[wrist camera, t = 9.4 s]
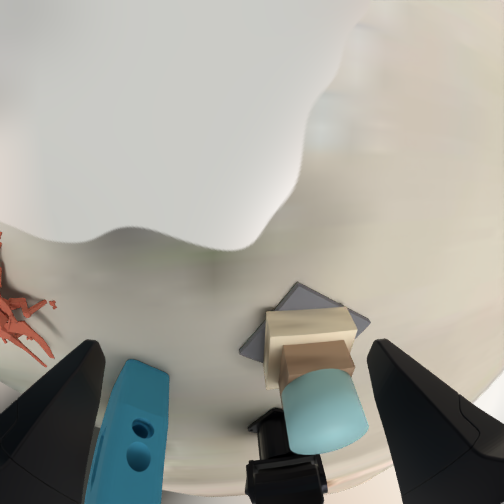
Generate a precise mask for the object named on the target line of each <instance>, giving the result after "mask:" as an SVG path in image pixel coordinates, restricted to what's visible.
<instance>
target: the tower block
mask: <svg viewBox="0 0 504 504" xmlns="http://www.w3.org/2000/svg"><path fill="white" fill-rule="evenodd" d="M321 369H339V370H343V371H345V372H347V373H348V374H349V375H350V376H351V377H352V374H353V372H354V369H355V365H354V363H353V360H352V358H351V356H350V353H349V351H348V348H347V346H346V343H345V341H344V340H337V341H328V342H317V343H306V344H293V345H283V350H282V358H281V366H280V373H279V381H278V384H279V390H280V396H281V403H282V392H283V390H284V388H285V387H286V386H287V385H288V384H289V383H290V382H292V381H293V380H294V379H296V378H298V377H300V376H302V375H304V374H306V373H309V372H312V371H316V370H321ZM282 409H283V403H282ZM283 410H284V409H283Z"/></svg>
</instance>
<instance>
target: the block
mask: <svg viewBox="0 0 504 504" xmlns="http://www.w3.org/2000/svg"><path fill="white" fill-rule="evenodd" d="M168 408H169V375H168V374H167V373H165V372H163V371H161V370H158V369H156V368H153V367H151V366H149V365H146V364H144V363H142V362H140V361H137V360H134V359H130V360H127V361H126V363H125V365H124V367H123V369H122V371H121V373H120V375H119V377H118V379H117V381H116V383H115V385H114V387H113V389H112V392H111V395H110V398H109V402H108V405H107V408H106V412H105V415H104V418H103V422H102V425H101V429H100V432H99V436H98V440H97V444H96V448H95V452H94V457H93V461H92V466H91V471H90V476H89V481H88V486H87V491H86V497H85V503H84V504H161V495H162V481H163V470H164V459H165V449H166V440H167V431H168Z"/></svg>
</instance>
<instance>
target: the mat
mask: <svg viewBox="0 0 504 504" xmlns="http://www.w3.org/2000/svg"><path fill="white" fill-rule="evenodd" d="M335 307H345V306H343V305H341V304H339V303H337V302H335V301H333V300H331V299H329V298H327V297H326V296H324V295H322V294H320V293H318V292H316V291H314V290H312V289H310V288H308V287H306V286H305V285H303V284H301V283H299V282H297V283H296V284H295V286H294V287H293V288H292V289H291V290H290V292H289V293H288V294H287V295H286V296H285V298H284V299H283V300H282V301H281V302H280V304H279V305H278V306H277V307H276V308H275V310H274V311H289V310H306V309H321V308H335ZM347 309H348V311H349V313H350V315H351V317H352V319H353V321H354V323H355V325H356V327H357V329H358V330H357V333H356V336H355V339H356V338H357V337H358V336H359V335H360V334H361V333H362V332H363V331H364V330H365V329H366V328H367V327H368V325H369V324H370V323H371V322H370V320H369V319H368V318H366V317H364V316H362V315H360V314H358V313H356V312H354V311H352V310H350V309H349V308H347ZM265 327H266V320H265V321H264V322H263V324H262V325H261V326H260V327H259V328H258V329H257V330H256V332H255V333H254V334H253V335H252V336H251V337H250V338H249V340H248V341H247V342H246V343H245V344H244V345H243V346H242V348H241V349H240V350H239V354H240V355H242V356H245V357H248V358H250V359H253V360H256V361H259V362H262V363H263V362H264V345H265ZM355 339H354V340H355Z"/></svg>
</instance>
